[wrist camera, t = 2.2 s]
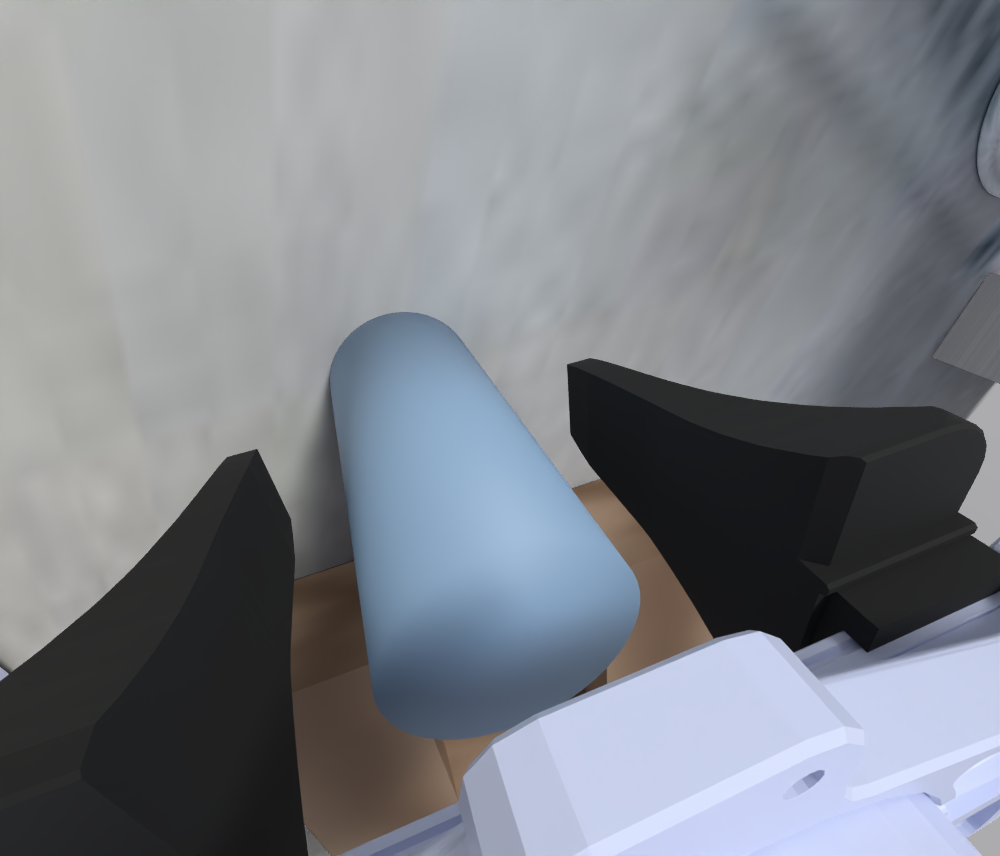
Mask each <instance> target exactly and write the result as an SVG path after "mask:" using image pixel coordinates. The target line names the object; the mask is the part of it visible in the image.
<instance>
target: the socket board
mask: <svg viewBox="0 0 1000 856" xmlns="http://www.w3.org/2000/svg"><path fill="white" fill-rule="evenodd" d="M572 490H573V491H574V493H575V494H576V496H577V497H578V498H579V500H580V501H581V502H582V504H583V505H584V506H585V508H586V509H587V510H588V512H589V513H590V514H591V516H592V517H593V518H594V520H595V521H596V523H597V524H598V525H599V527H600V528H601V529H602V531H603V532H604V533H605V535H606V536H607V537H608V539H609V540H610V541H611V543H612V544H613V546H614V547H615V548H616V550H617V551H618V552H619V554H620V555H621V556H622V558H623V559H624V560H625V562H626V563H627V564H628V566H629V567H630V568H631V570H632V571H633V573H634V575H635V577H636V579H637V581H638V585H639V589H640V607H639V614H638V617H637V620H636V624H635V626H634V628H633V630H632V633H631V635H630V637H629V638H628V640H627V642H626V643H625V645H624V647H623V648H622V650H621V651H620V652H619V654H618V655H617V656H616V658H615V659H614V660H613V661H612V662H611V664H610V665H609V666H608V667H607V668H606V669H605V670H604V671H603V672H602V673H601V674H600V675H599V676H598V677H597V678H596V679H595V680H594V681H592V682H591V683H590V684H589V685H588V686H586V687H585V688H584V689H583V690H582V691H580V692H579V693H577V694H576V695H575V696H573V697H572V698H571V699H573V698H575V697H578V696H580V695H582V694H585V693H587V692H589V691H592V690H594V689H596V688H599V687H601V686H604V685H606V684H608V683H611V682H613V681H615V680H618V679H620V678H623V677H625V676H627V675H630V674H632V673H634V672H637V671H639V670H642V669H644V668H646V667H649V666H651V665H653V664H656V663H658V662H661V661H663V660H665V659H668V658H670V657H672V656H675V655H677V654H679V653H682V652H684V651H687V650H689V649H691V648H694V647H696V646H698V645H701V644H703V643H706V642H708V641H710V640H713V637H712V636H711V634H710V632H709V630H708V629H707V627H706V625H705V624H704V622H703V620H702V618H701V617H700V615H699V613H698V612H697V610H696V608H695V607H694V605H693V603H692V602H691V600H690V599H689V597H688V595H687V594H686V592H685V591H684V589H683V587H682V586H681V584H680V583H679V581H678V579H677V578H676V576H675V575H674V573H673V571H672V570H671V568H670V567H669V565H668V564H667V562H666V561H665V559H664V558H663V556H662V555H661V553H660V552H659V550H658V549H657V548H656V546H655V545H654V543H653V542H652V540H651V539H650V537H649V536H648V535H647V534H646V532H645V531H644V530H643V528H642V527H641V526H640V525H639V523H638V522H637V521H636V520H635V519H634V517H633V516H632V515H631V514H630V513H629V512H628V510H627V509H626V508H625V507H624V506H623V504H622V503H621V502H620V501H619V500H618V499H617V497H616V496H615V495H614V494H613V493H612V491H611V490H610V489H609V488H608V487H607V486H606V484H605V483H604V482H603V481H602V480H601V479H600V480H597V481H594V482H591V483H588V484H585V485H581V486H578V487H575V488H572ZM291 685H292V700H293V715H294V727H295V739H296V750H297V762H298V772H299V781H300V791H301V800H302V809H303V818H304V824H305V825H306V827H307V828H308V829H309V830H310V831H311V833H312V834H313V835H314V836H315V837H316V838H317V840H318V841H319V842H320V843H321V844H322V845H323V847H324V848H325V849H326V850H327V851H328V852H329V854H330V855H331V856H338V855H340V854H342V853H344V852H347V851H349V850H351V849H353V848H356V847H358V846H360V845H362V844H365V843H367V842H369V841H371V840H374V839H376V838H378V837H380V836H383V835H385V834H387V833H389V832H392V831H394V830H396V829H398V828H401V827H403V826H405V825H407V824H410V823H412V822H414V821H416V820H419V819H421V818H423V817H425V816H428V815H430V814H432V813H434V812H437V811H439V810H441V809H443V808H446V807H448V806H450V805H452V804H455V803H457V802H458V801H459V796H460V790H461V785H462V779H463V776H464V774H465V772H466V770H467V768H468V766H469V765H470V764H471V763H472V762H473V761H474V760H475V759H476V757H477V756H478V755H479V754H480V753H481V752H482V751H483V750H484V749H485V748H486V747H487V746H488V745H489V743H490V742H491V741H492V740H493V739H494V738H495V737H497V736H499V735H500V734H502V733H504V732H506V731H507V730H509V729H507V730H504V731H501V732H497V733H493V734H489V735H485V736H480V737H474V738H468V739H456V740H439V739H430V738H423V737H419V736H415V735H412V734H409V733H407V732H404V731H402V730H400V729H399V728H397V727H395V726H394V725H392V724H391V723H390V722H389V721H388V720H387V719H386V718H385V717H384V716H383V715H382V714H381V712H380V711H379V709H378V708H377V705H376V703H375V700H374V697H373V691H372V684H371V677H370V670H369V663H368V655H367V648H366V641H365V634H364V627H363V620H362V612H361V605H360V598H359V591H358V584H357V577H356V570H355V562H354V561H352V562H349V563H346V564H343V565H340V566H337V567H334V568H331V569H328V570H325V571H322V572H319V573H316V574H313V575H310V576H307V577H304V578H301V579H298V580H295V581H294V593H293V612H292V632H291ZM569 700H570V699H569ZM567 701H568V700H567ZM510 729H511V728H510Z"/></svg>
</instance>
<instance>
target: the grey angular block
mask: <svg viewBox="0 0 1000 856" xmlns="http://www.w3.org/2000/svg"><path fill="white" fill-rule="evenodd" d="M932 358H935V359H937V360H940V361H942V362H945V363H948V364H950V365H953V366H955V367H958V368H961V369H963V370H966V371H968V372H971V373H973V374H976V375H979V376H981V377H984V378H986V379H989V380H992V381H994V382H997V383H999V384H1000V275H997V274H993V273H989V274H988V275H987V276H986V278H985V279H984V281H983V282H982V284H981V285H980V287H979V288H978V290H977V291H976V293H975V294H974V296H973V297H972V299H971V300H970V302H969V303H968V305H967V306H966V308H965V309H964V310H963V312H962V313H961V315H960V316H959V318H958V319H957V321H956V322H955V324H954V325H953V327H952V328H951V330H950V331H949V333H948V334H947V336H946V337H945V339H944V340H943V342H942V343H941V344H940V346H939V347H938V349H937V350H936V352H935V353H934V355H933V356H932Z"/></svg>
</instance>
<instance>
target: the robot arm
mask: <svg viewBox="0 0 1000 856" xmlns="http://www.w3.org/2000/svg"><path fill="white" fill-rule="evenodd" d="M567 371H568V391H569V411H570V432H571V436H572V437H573V439H574V441H575V442H576V444H577V446H578V447H579V449H580V451H581V452H582V454H583V456H584V457H585V459H586V460H587V462H588V463H589V465H590V466H591V467H592V469H593V470H594V471H595V472H596V473H597V475H598V476H599V477H600V478H601V480H602V481H603V482H604V483H605V484H606V486H607V487H608V488H609V489H610V490H611V491H612V493H613V494H614V495H615V496H616V497H617V499H618V500H619V501H620V502H621V503H622V504H623V506H624V507H625V508H626V509H627V510H628V512H629V513H630V514H631V515H632V516H633V517H634V519H635V520H636V521H637V522H638V523H639V525H640V526H641V527H642V528H643V530H644V531H645V532H646V534H647V535H648V536H649V537H650V539H651V540H652V542H653V543H654V545H655V546H656V548H657V549H658V550H659V552H660V553H661V555H662V556H663V558H664V559H665V561H666V562H667V564H668V565H669V567H670V568H671V570H672V571H673V573H674V575H675V576H676V578H677V579H678V581H679V583H680V584H681V586H682V587H683V589H684V591H685V592H686V594H687V595H688V597H689V599H690V600H691V602H692V603H693V605H694V607H695V608H696V610H697V612H698V613H699V615H700V617H701V618H702V620H703V622H704V624H705V625H706V627H707V629H708V630H709V632H710V634H711V636H712V637H713V640H710V641H708V642H706V643H703V644H701V645H698V646H696V647H694V648H691V649H689V650H687V651H684V652H682V653H679V654H677V655H675V656H672V657H670V658H668V659H665V660H663V661H661V662H658V663H656V664H653V665H651V666H649V667H646V668H644V669H642V670H639V671H637V672H634V673H632V674H630V675H627V676H625V677H623V678H620V679H618V680H615V681H613V682H611V683H608V684H606V685H604V686H601V687H599V688H596V689H594V690H592V691H589V692H587V693H585V694H582V695H580V696H578V697H575V698H573V699H570V700H568V701H566V702H563V703H561V704H559V705H556V706H554V707H551V708H549V709H547V710H544V711H542V712H540V713H537V714H535V715H533V716H531V717H530V718H528V719H526V720H524V721H523V722H521V723H519V724H518V725H516V726H514V727H512V728H511V729H509V730H507V731H506V732H504V733H502V734H500V735H499V736H497V737H495V738H494V739H493V740H492V741H491V742H490V743H489V745H488V746H487V747H486V748H485V749H484V750H483V751H482V752H481V753H480V754H479V755H478V756H477V757H476V759H475V760H474V761H473V762H472V763H471V764H470V765H469V766H468V768H467V770H466V772H465V774H464V776H463V779H462V785H461V790H460V796H459V801H458V802H457V803H455V804H452V805H450V806H448V807H446V808H443V809H441V810H439V811H437V812H434V813H432V814H430V815H428V816H425V817H423V818H421V819H419V820H416V821H414V822H412V823H410V824H407V825H405V826H403V827H401V828H398V829H396V830H394V831H392V832H389V833H387V834H385V835H383V836H380V837H378V838H376V839H374V840H371V841H369V842H367V843H365V844H362V845H360V846H358V847H356V848H353V849H351V850H349V851H347V852H344V853H342V854H340V855H338V856H982V855H981V854H980V853H979V852H978V851H977V850H976V848H974V846H973V845H972V844H971V843H970V842H969V841H968V840H967V839H966V838H967V837H969V836H971V835H972V834H974V833H975V832H977V831H978V830H980V829H981V828H983V827H985V826H986V825H988V824H989V823H991V822H992V821H994V820H995V819H997V818H999V817H1000V538H998V539H997V540H996V541H995V542H994V543H993V544H992V545H991V546H990V547H988V546H987V545H985V544H984V543H982V542H981V541H979V540H977V539H976V538H974V537H973V536H971V534H973V533H975V531H976V530H977V526H976V524H975V522H973V521H972V520H970V519H968V518H967V517H965V516H963V515H962V514H960V513H958V511H959V509H960V507H961V505H962V503H963V501H964V499H965V497H966V495H967V493H968V491H969V490H970V488H971V486H972V484H973V482H974V480H975V478H976V476H977V474H978V473H979V470H980V468H981V465H982V463H983V461H984V458H985V452H986V440H985V437H984V433H983V430H981V429H980V428H979V427H978V426H977V425H975V424H973V423H971V422H969V421H967V420H965V419H963V418H960V417H958V416H956V415H954V414H952V413H950V412H947V411H945V410H943V409H940V408H937V407H933V406H926V407H883V408H854V407H825V406H809V405H797V404H787V403H777V402H768V401H761V400H753V399H747V398H742V397H736V396H730V395H725V394H719V393H715V392H710V391H706V390H702V389H698V388H694V387H690V386H686V385H682V384H678V383H675V382H671V381H667V380H664V379H661V378H657V377H654V376H651V375H647V374H644V373H641V372H638V371H635V370H631V369H628V368H625V367H622V366H619V365H615V364H612V363H609V362H605V361H601V360H597V359H592V358H589V359H585V360H582V361H578V362H574V363H571V364H567ZM294 570H295V554H294V543H293V534H292V525H291V518H290V516H289V514H288V512H287V510H286V508H285V506H284V504H283V502H282V500H281V498H280V496H279V493H278V491H277V489H276V487H275V485H274V483H273V481H272V479H271V477H270V475H269V473H268V471H267V468H266V466H265V464H264V462H263V460H262V458H261V456H260V454H259V452H258V450H257V449H255V450H252V451H248V452H244V453H241V454H237V455H233V456H230V457H227V458H226V459H225V460H224V461H223V462H222V463H221V465H220V466H219V467H218V468H217V469H216V471H215V472H214V473H213V475H212V476H211V477H210V478H209V480H208V481H207V482H206V483H205V485H204V486H203V487H202V489H201V490H200V491H199V492H198V494H197V495H196V496H195V497H194V499H193V500H192V501H191V502H190V504H189V505H188V506H187V507H186V509H185V510H184V511H183V512H182V514H181V515H180V516H179V517H178V519H177V520H176V521H175V522H174V523H173V524H172V525H171V527H170V528H169V529H168V530H167V531H166V532H165V533H164V535H163V536H162V537H161V538H160V539H159V540H158V541H157V542H156V544H155V545H154V546H153V547H152V548H151V549H150V550H149V552H148V553H147V554H146V555H145V556H144V557H143V558H142V559H141V560H140V561H139V562H138V563H137V564H136V565H135V567H134V568H133V569H132V570H131V571H130V572H129V573H128V574H127V575H126V576H125V577H124V578H123V579H122V580H120V581H119V582H118V583H117V584H116V585H115V586H114V587H113V588H112V589H111V590H110V591H109V592H108V593H107V594H106V595H105V596H104V597H102V598H101V599H100V600H99V601H98V602H97V603H96V604H95V605H94V606H93V607H91V608H90V609H89V610H88V611H87V612H86V613H84V614H83V615H82V616H81V617H80V618H78V619H77V620H76V621H75V622H74V623H72V624H71V625H70V626H69V627H68V628H66V629H65V630H64V631H63V632H62V633H60V634H59V635H58V636H57V637H56V638H54V639H53V640H52V641H51V642H50V643H49V644H47V645H46V646H45V647H44V648H43V649H41V650H40V651H39V652H38V653H36V654H35V655H34V656H32V657H31V658H30V659H28V660H27V661H26V662H24V663H23V664H22V665H21V666H19V667H18V668H17V669H15V670H14V671H13V672H11V673H10V674H8V673H7V672H6V671H5V670H3V669H2V668H1V667H0V856H308V850H307V843H306V835H305V827H304V818H303V809H302V800H301V791H300V781H299V772H298V762H297V750H296V739H295V727H294V715H293V700H292V685H291V632H292V612H293V593H294Z"/></svg>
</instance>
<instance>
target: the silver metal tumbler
mask: <svg viewBox="0 0 1000 856" xmlns="http://www.w3.org/2000/svg"><path fill="white" fill-rule="evenodd" d="M977 168H978V174H979V177H980V180H981V183H982V185H983V186H984V188H985V189H986V190H987V191H988V192H989V193H990V194H991V195H993V196H996V197H998V198H1000V82H999V84H998V86H997V88H996V90H995V93H994V95H993V97H992V99H991V102H990V104H989V107H988V109H987V112H986V115H985V118H984V121H983V125H982V128H981V132H980V137H979V142H978V150H977Z"/></svg>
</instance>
